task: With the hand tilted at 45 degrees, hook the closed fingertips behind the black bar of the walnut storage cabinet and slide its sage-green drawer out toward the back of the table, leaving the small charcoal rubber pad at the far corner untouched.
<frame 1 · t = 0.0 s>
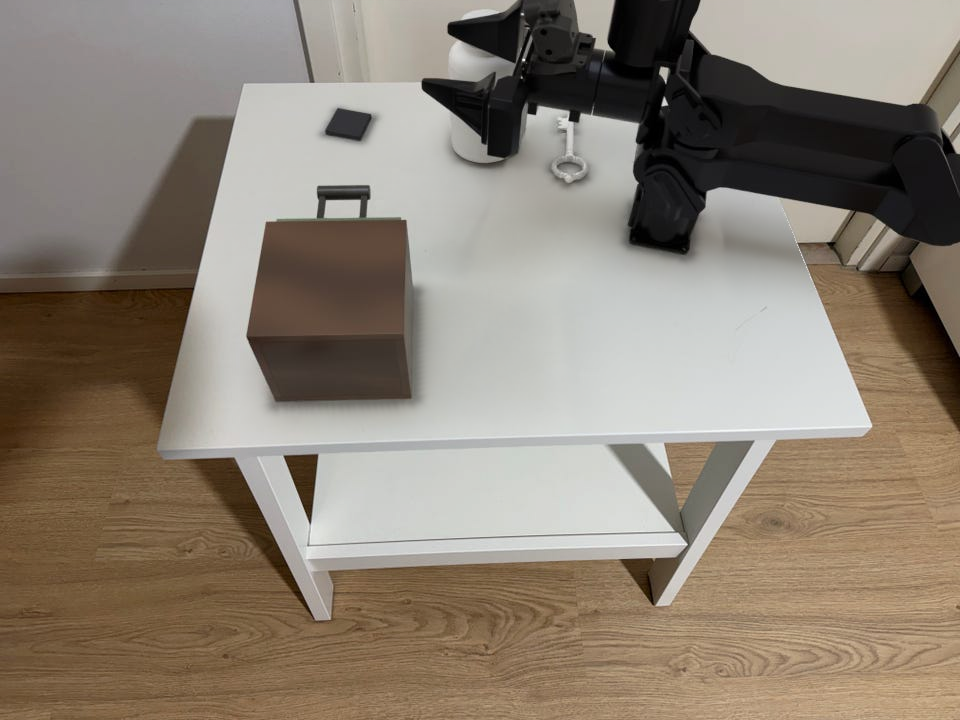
hand: (435, 55, 67), 17 cm above the table, tool horizontal, fingers open, 9 cm apart
key: (569, 151, 85), on the table
cabinet: (348, 344, 69), on the table
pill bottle: (485, 146, 84), on the table, touching gripper
pad: (348, 126, 86), on the table
drawer: (343, 274, 67), point 5 cm above the table, slide at 0.0 cm
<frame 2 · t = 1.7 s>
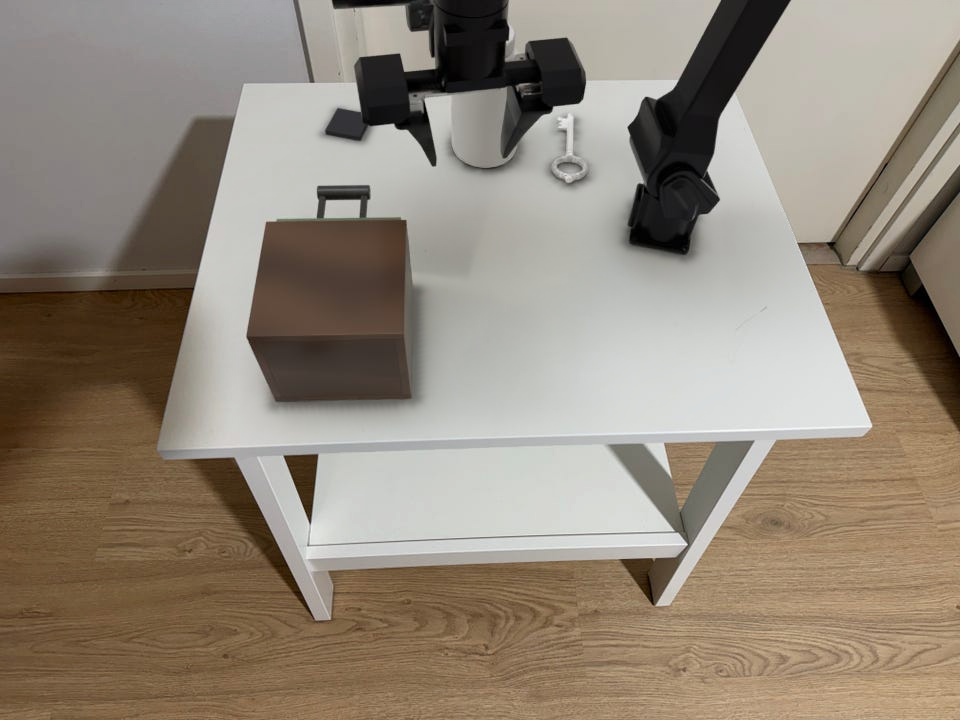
hand: (468, 159, 66), 12 cm above the table, tool pointing down, fingers open, 6 cm apart
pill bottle: (484, 148, 85), on the table
everything else where it was.
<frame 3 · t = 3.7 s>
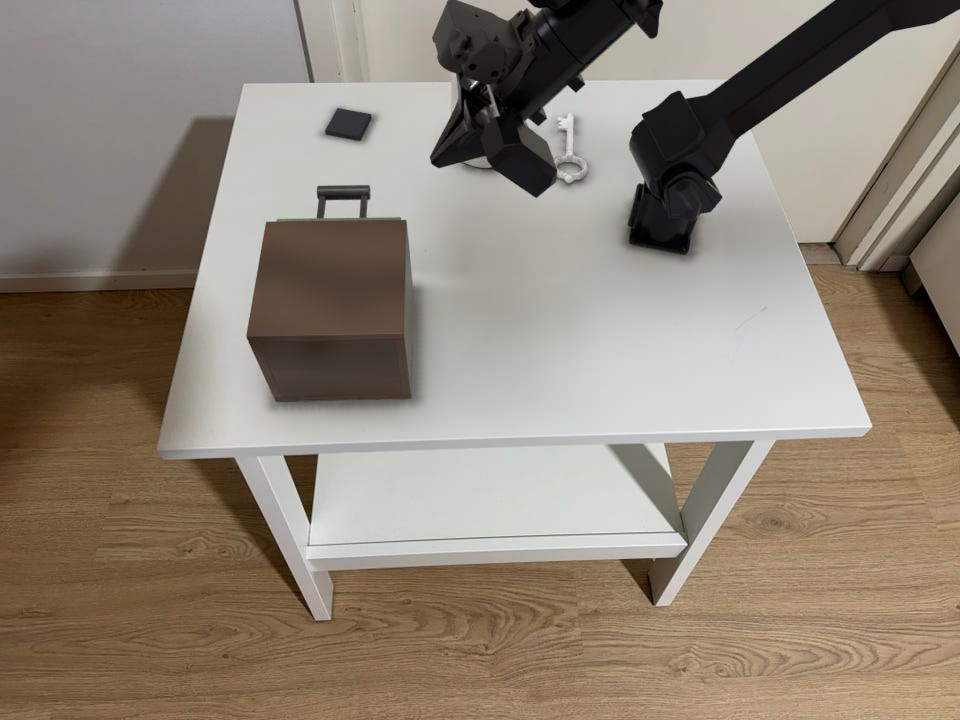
hand: (433, 163, 63), 13 cm above the table, tool tilted 45°, fingers closed
nothing on the table moved.
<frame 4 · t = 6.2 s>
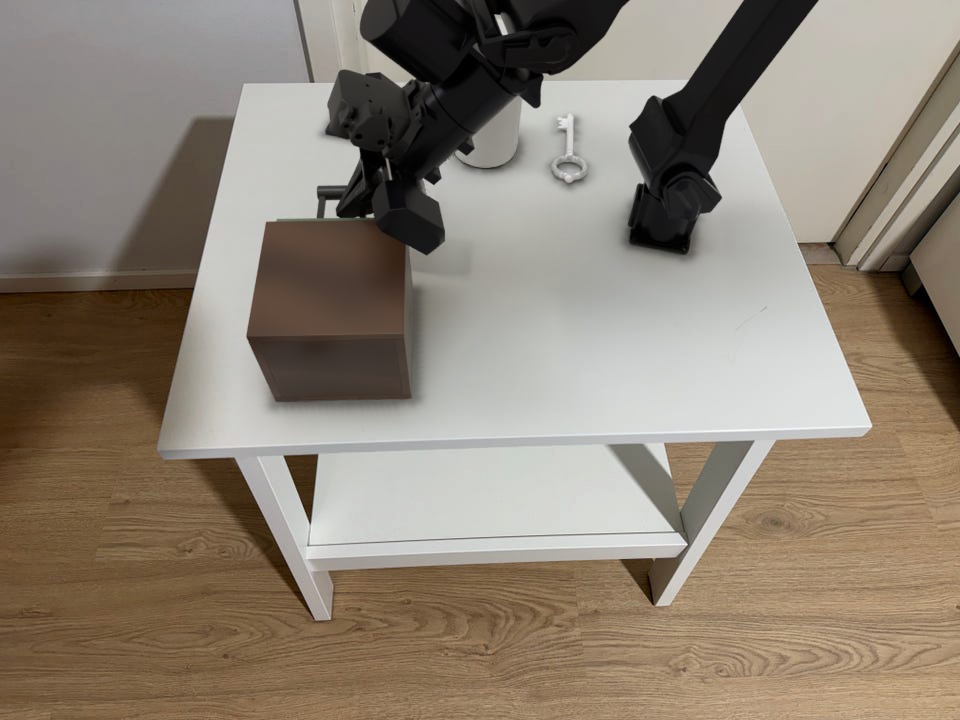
hand: (339, 215, 66), 9 cm above the table, tool tilted 45°, fingers closed
drawer: (343, 274, 67), point 5 cm above the table, slide at 0.0 cm, touching cabinet
everything else where it was.
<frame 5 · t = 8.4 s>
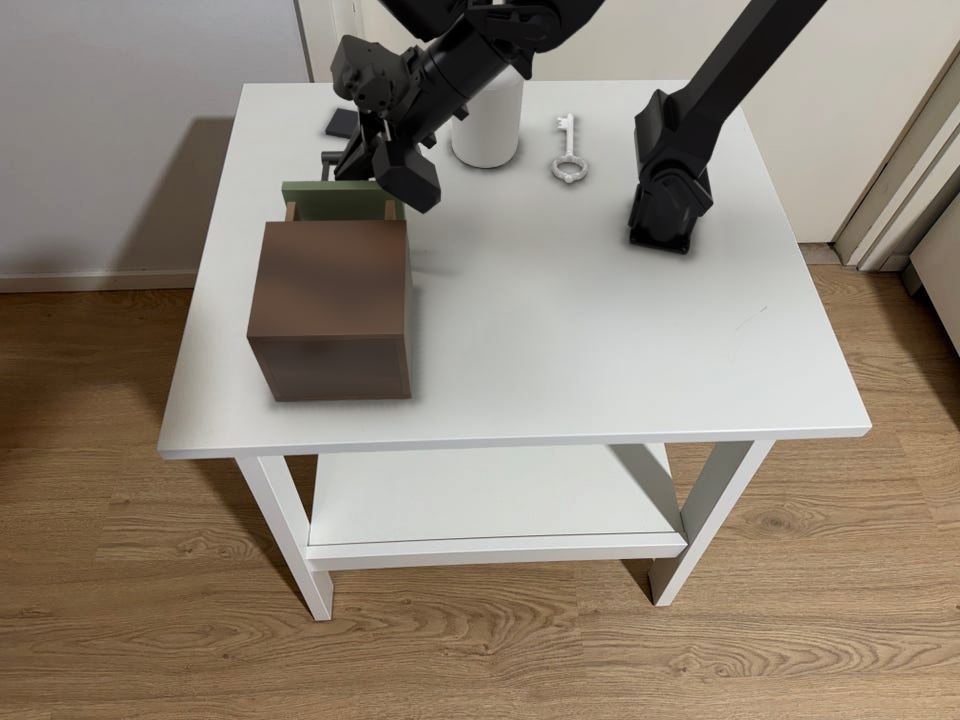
hand: (337, 178, 69), 8 cm above the table, tool tilted 50°, fingers closed
drawer: (346, 236, 69), point 5 cm above the table, slide at 4.9 cm, touching gripper
everything else where it was.
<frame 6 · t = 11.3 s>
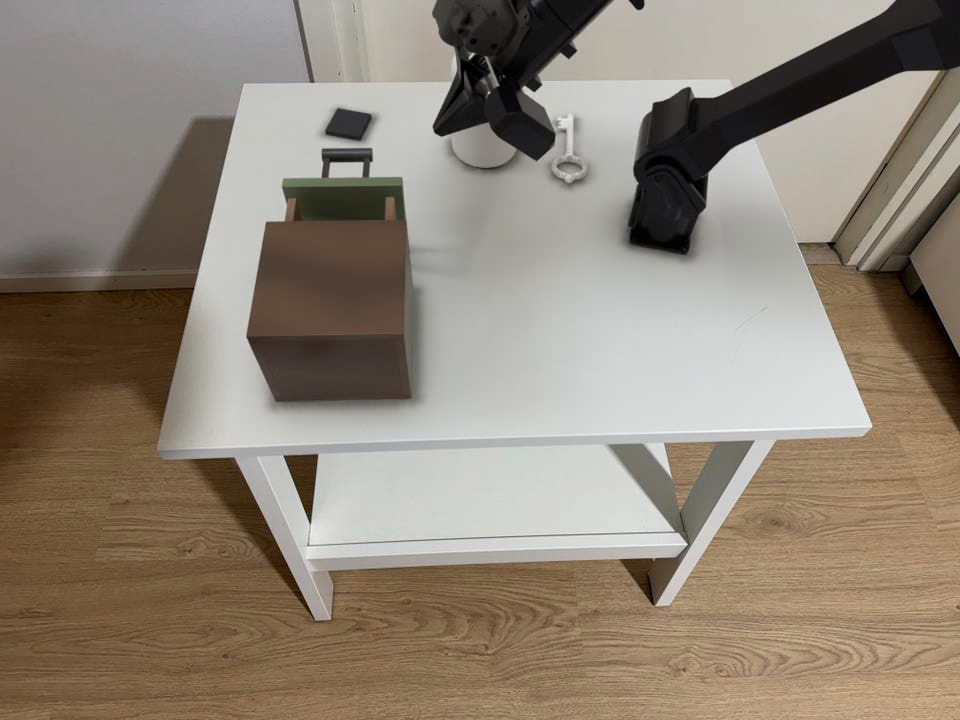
hand: (436, 132, 67), 12 cm above the table, tool tilted 45°, fingers closed
drawer: (347, 233, 70), point 5 cm above the table, slide at 5.3 cm
everything else where it was.
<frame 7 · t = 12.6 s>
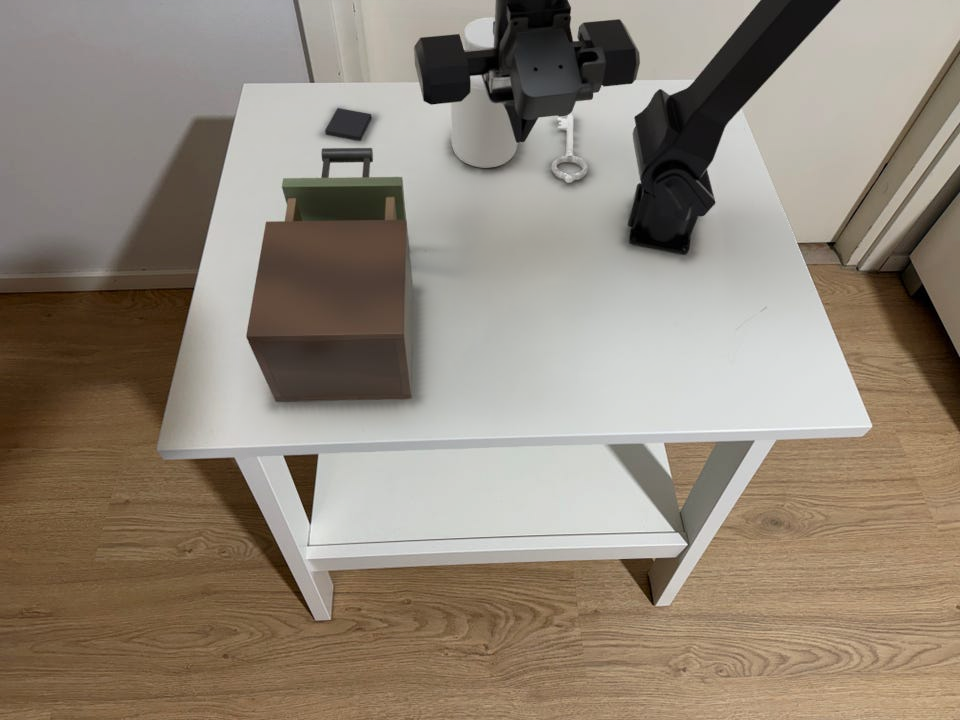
hand: (519, 139, 68), 12 cm above the table, tool pointing down, fingers closed
nothing on the table moved.
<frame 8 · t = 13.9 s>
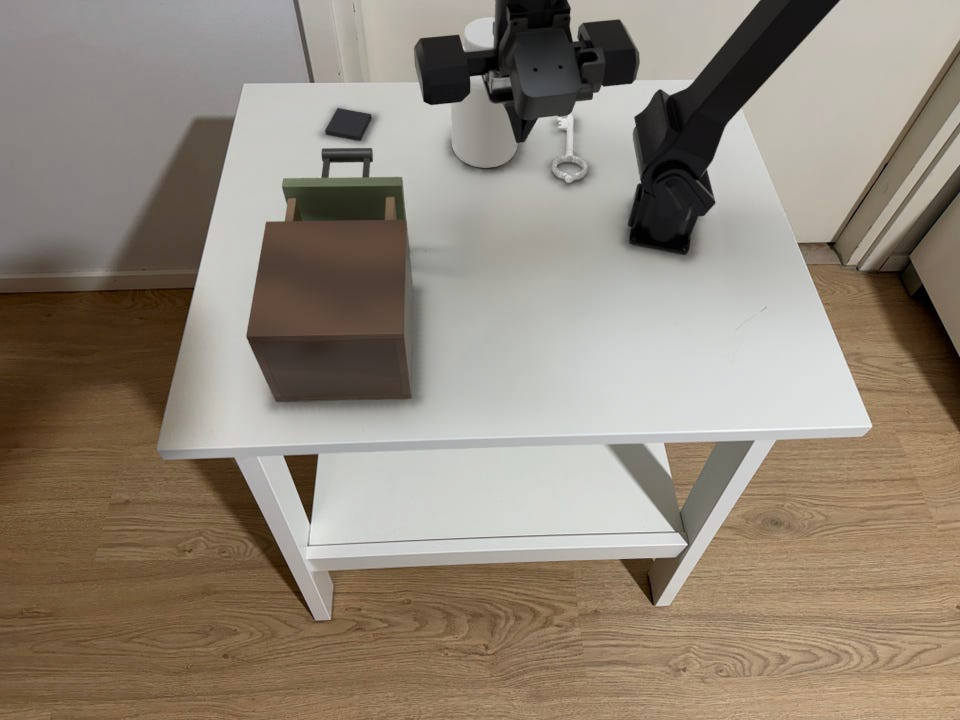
hand: (519, 140, 68), 12 cm above the table, tool pointing down, fingers closed
nothing on the table moved.
at the end: drawer slide at 5.3 cm; pad moved 0.0 cm from its start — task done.
